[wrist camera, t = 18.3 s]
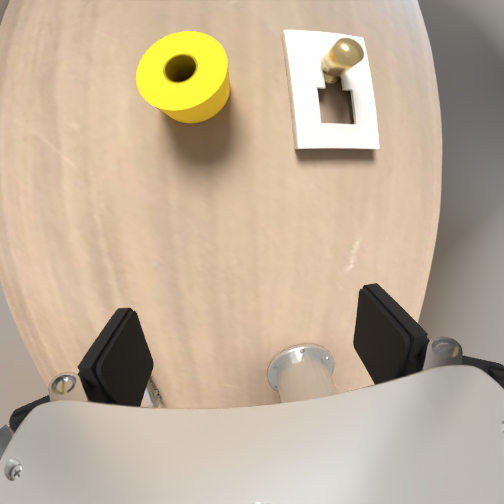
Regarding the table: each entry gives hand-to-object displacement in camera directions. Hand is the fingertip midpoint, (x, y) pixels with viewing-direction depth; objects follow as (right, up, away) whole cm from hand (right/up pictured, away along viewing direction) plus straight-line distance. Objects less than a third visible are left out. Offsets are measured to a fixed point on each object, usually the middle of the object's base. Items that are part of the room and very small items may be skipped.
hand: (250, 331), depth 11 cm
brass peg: (+11, +29, +21) cm, 37 cm away
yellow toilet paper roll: (-8, +25, +21) cm, 34 cm away
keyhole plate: (+11, +26, +22) cm, 36 cm away
